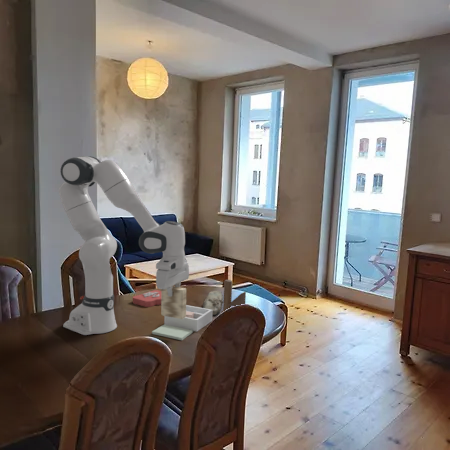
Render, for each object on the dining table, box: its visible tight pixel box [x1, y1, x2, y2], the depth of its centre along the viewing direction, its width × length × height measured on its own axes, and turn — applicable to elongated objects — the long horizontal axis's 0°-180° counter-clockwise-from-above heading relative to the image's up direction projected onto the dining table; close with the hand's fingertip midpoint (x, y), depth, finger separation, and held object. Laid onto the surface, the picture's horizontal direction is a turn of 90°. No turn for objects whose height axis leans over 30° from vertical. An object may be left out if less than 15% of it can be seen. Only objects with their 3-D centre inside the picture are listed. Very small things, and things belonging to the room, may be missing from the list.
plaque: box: [132, 289, 161, 308], centre depth 214 cm, size 18×4×15 cm
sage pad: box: [151, 324, 194, 341], centre depth 173 cm, size 14×9×1 cm, turn 66°
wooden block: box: [221, 279, 247, 313], centre depth 189 cm, size 4×11×18 cm, turn 54°
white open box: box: [163, 304, 214, 332], centre depth 185 cm, size 16×15×5 cm
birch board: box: [160, 285, 187, 319], centre depth 171 cm, size 10×3×12 cm, turn 66°
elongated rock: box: [202, 290, 224, 316], centre depth 212 cm, size 35×5×10 cm
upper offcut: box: [186, 311, 194, 319], centre depth 182 cm, size 8×4×3 cm, turn 78°
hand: (173, 294), depth 171 cm, fingers closed on birch board, 3 cm apart
